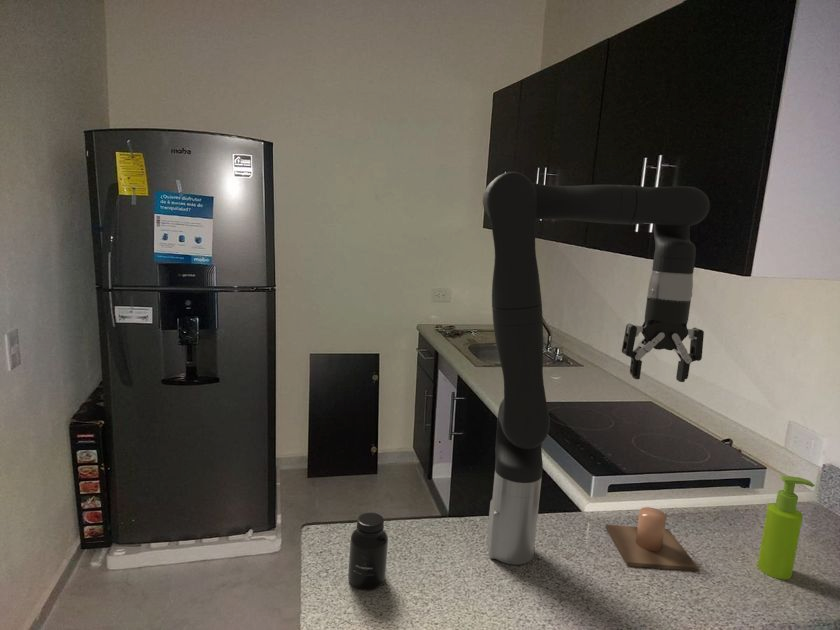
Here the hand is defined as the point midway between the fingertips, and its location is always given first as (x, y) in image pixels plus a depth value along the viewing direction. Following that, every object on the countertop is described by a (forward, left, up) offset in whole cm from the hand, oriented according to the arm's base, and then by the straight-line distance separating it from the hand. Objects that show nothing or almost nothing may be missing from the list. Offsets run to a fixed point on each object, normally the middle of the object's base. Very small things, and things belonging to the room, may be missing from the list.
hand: (657, 379), depth 105 cm
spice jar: (+5, +5, -37) cm, 38 cm away
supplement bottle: (-53, -12, -38) cm, 66 cm away
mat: (+5, +5, -38) cm, 39 cm away
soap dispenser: (+29, 0, -38) cm, 48 cm away
